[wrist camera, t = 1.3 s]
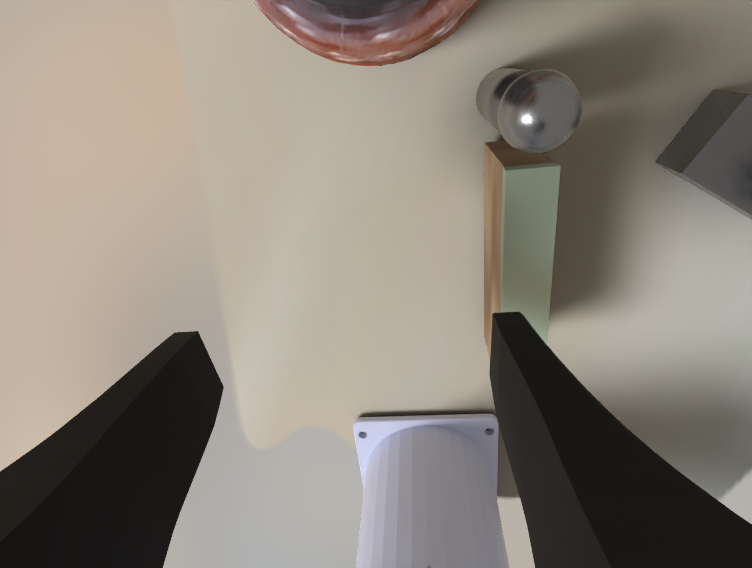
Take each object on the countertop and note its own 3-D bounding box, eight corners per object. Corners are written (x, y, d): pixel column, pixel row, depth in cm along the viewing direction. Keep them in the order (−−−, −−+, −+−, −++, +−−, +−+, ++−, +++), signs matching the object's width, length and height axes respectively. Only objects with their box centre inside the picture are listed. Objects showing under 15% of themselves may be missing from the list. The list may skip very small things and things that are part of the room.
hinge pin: (530, 122, 18) (589, 157, 12) (473, 128, 18) (504, 165, 12) (533, 61, 17) (599, 65, 11) (473, 68, 17) (505, 75, 11)
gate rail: (516, 340, 22) (541, 411, 18) (483, 342, 22) (500, 412, 18) (524, 138, 18) (560, 165, 13) (482, 142, 18) (505, 170, 13)
